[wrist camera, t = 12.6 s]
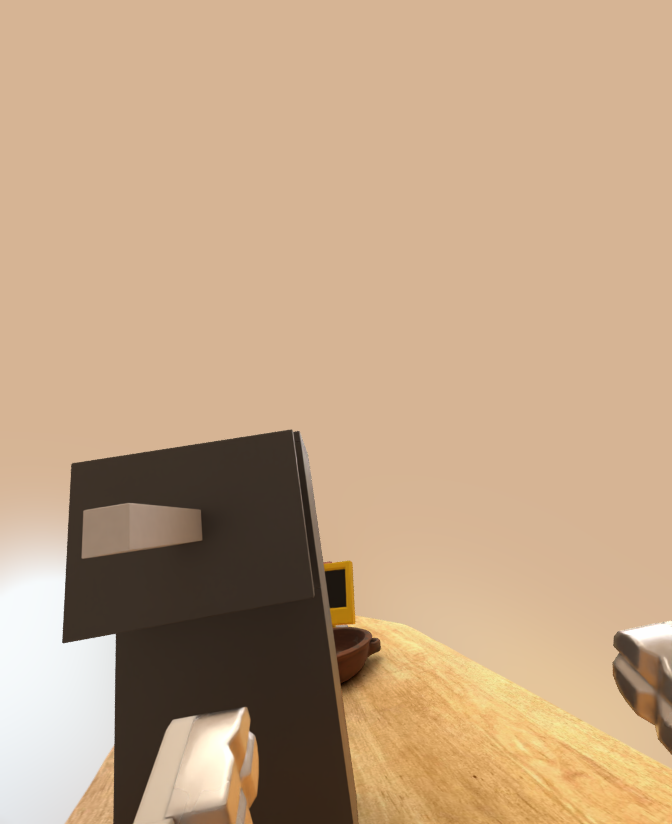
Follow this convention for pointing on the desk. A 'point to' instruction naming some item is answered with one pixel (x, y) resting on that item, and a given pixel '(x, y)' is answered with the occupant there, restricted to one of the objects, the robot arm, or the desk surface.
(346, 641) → the dish
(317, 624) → the cabinet
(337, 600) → the toy computer monitor
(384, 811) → the desk surface
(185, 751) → the robot arm
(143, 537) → the drawer
